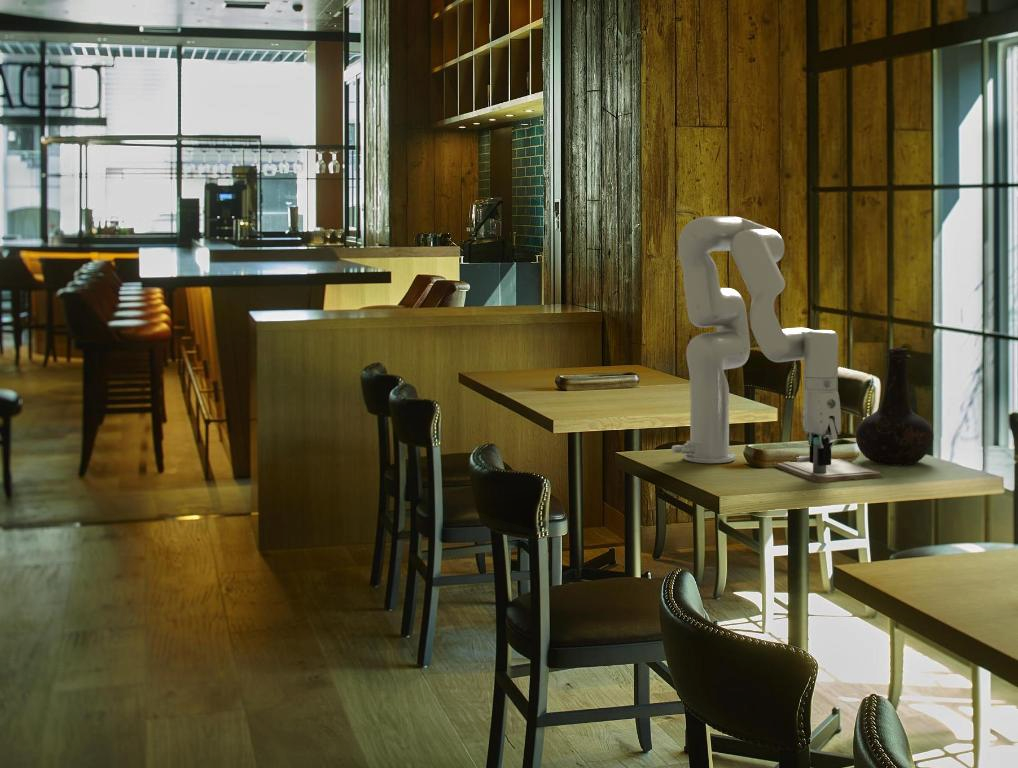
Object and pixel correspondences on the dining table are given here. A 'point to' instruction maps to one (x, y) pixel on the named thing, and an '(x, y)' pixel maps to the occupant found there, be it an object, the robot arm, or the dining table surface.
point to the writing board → (828, 470)
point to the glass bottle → (895, 421)
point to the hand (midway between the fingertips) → (820, 463)
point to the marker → (815, 450)
